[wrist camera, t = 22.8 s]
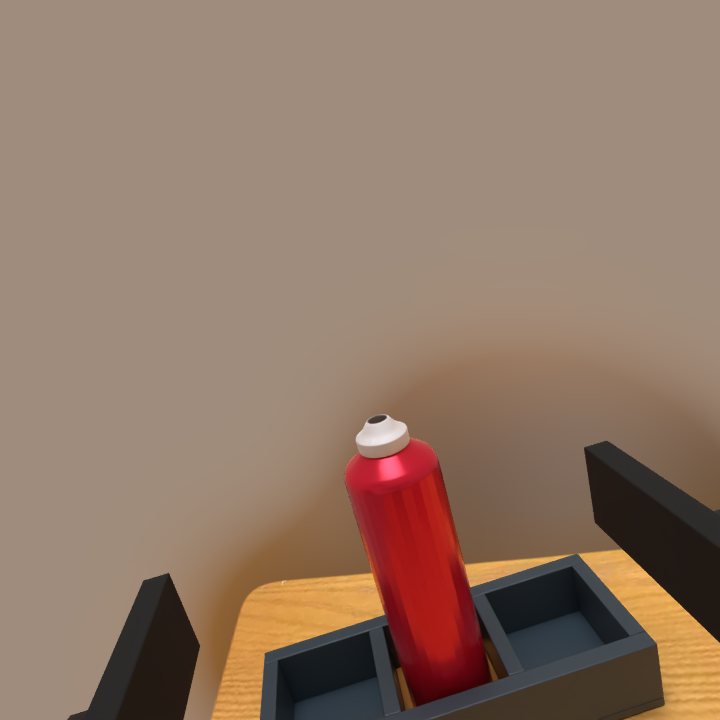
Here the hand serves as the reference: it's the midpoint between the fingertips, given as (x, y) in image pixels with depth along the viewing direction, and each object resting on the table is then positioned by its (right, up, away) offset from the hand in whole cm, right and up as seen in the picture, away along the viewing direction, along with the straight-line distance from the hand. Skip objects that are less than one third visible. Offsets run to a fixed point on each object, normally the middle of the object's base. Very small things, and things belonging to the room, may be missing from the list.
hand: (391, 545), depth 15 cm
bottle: (+5, -16, +18) cm, 25 cm away
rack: (+5, -17, +18) cm, 25 cm away
